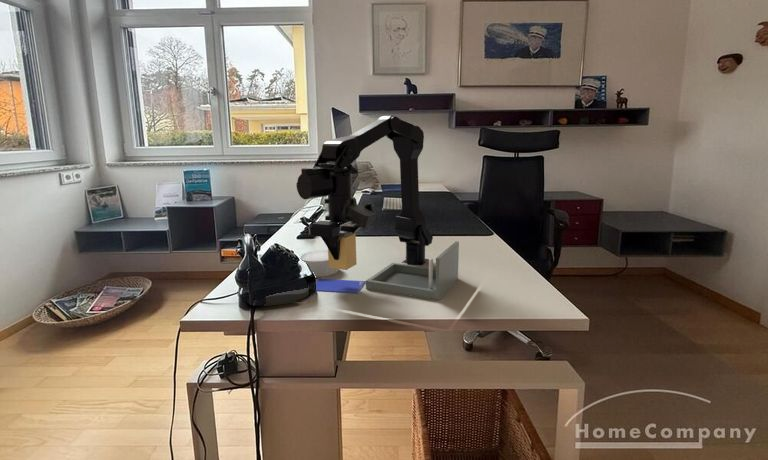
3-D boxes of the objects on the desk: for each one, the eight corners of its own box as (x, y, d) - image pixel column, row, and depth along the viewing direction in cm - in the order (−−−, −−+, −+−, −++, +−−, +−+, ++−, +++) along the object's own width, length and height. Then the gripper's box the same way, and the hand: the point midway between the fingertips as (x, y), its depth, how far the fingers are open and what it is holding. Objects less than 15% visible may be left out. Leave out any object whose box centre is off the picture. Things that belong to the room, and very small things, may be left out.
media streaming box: (246, 310, 96) (244, 297, 95) (247, 287, 109) (246, 276, 109) (311, 302, 99) (310, 290, 99) (304, 281, 113) (304, 270, 112)
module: (339, 261, 109) (338, 230, 107) (356, 264, 107) (355, 231, 105) (328, 267, 104) (327, 234, 102) (346, 270, 102) (345, 236, 100)
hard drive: (365, 280, 109) (319, 278, 112) (357, 291, 102) (308, 289, 104) (365, 286, 110) (320, 283, 112) (358, 298, 102) (309, 295, 104)
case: (392, 271, 119) (392, 234, 117) (457, 280, 111) (458, 241, 109) (366, 290, 105) (365, 249, 103) (438, 302, 97) (439, 258, 95)
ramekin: (293, 272, 119) (292, 254, 118) (326, 264, 126) (326, 247, 125) (313, 283, 111) (312, 263, 110) (348, 273, 118) (348, 255, 117)
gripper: (349, 202, 90) (351, 272, 93) (386, 190, 106) (387, 250, 110) (306, 199, 94) (309, 266, 98) (348, 188, 111) (350, 246, 114)
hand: (342, 256), depth 105 cm, fingers closed on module, 5 cm apart
